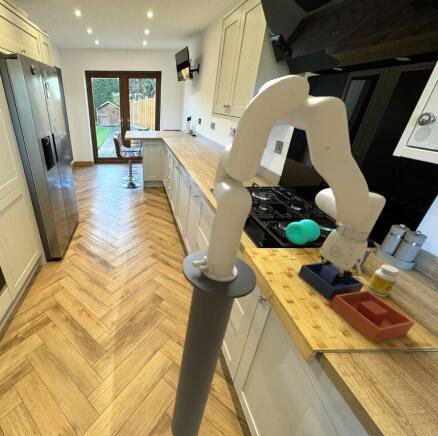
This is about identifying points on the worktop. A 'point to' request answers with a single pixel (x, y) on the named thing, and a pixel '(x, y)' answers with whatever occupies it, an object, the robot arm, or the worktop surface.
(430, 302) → the worktop surface
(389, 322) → the terracotta bin
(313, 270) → the navy bin
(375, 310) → the brick block
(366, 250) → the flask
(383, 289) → the supplement bottle
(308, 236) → the donuts
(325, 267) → the slate block
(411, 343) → the worktop surface
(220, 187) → the robot arm
